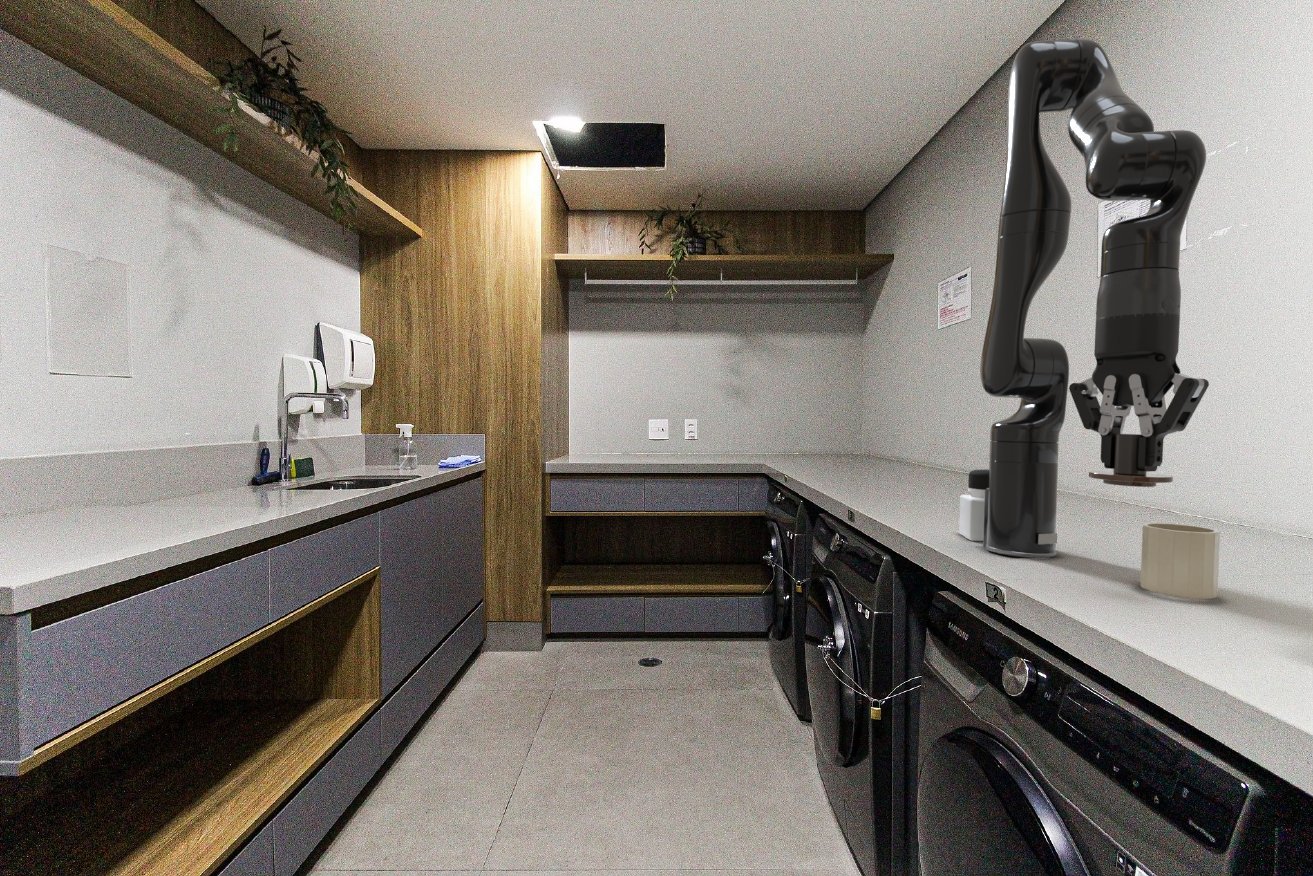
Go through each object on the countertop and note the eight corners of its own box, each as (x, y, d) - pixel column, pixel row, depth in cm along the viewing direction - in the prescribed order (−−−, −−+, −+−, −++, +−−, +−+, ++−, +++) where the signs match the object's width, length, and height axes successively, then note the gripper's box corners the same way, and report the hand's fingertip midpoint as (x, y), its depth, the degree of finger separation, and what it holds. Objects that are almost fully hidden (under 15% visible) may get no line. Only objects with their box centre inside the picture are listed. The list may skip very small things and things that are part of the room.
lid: (1072, 480, 75) (1074, 432, 74) (1128, 481, 76) (1130, 433, 76) (1129, 488, 67) (1132, 434, 67) (1191, 488, 68) (1194, 435, 68)
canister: (1125, 587, 78) (1127, 523, 78) (1174, 586, 79) (1176, 522, 79) (1180, 604, 71) (1183, 533, 71) (1233, 602, 72) (1236, 532, 72)
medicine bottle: (1015, 543, 107) (1017, 472, 106) (969, 541, 108) (971, 470, 108) (1001, 536, 114) (1003, 469, 113) (958, 533, 115) (960, 467, 115)
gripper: (1232, 309, 66) (1224, 475, 66) (1095, 325, 79) (1089, 464, 79) (1188, 303, 63) (1179, 476, 64) (1053, 321, 76) (1047, 465, 77)
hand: (1129, 468), depth 71 cm, fingers closed on lid, 3 cm apart
